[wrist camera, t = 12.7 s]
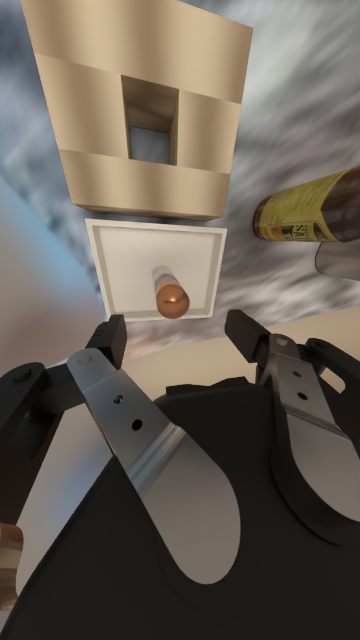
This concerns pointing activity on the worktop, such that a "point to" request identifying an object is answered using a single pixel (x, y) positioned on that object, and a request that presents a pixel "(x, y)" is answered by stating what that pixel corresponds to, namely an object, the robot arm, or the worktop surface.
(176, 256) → the tray
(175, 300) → the copper and grey cylinder
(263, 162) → the worktop surface
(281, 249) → the worktop surface
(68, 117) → the block
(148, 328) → the worktop surface
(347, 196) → the sauce bottle
